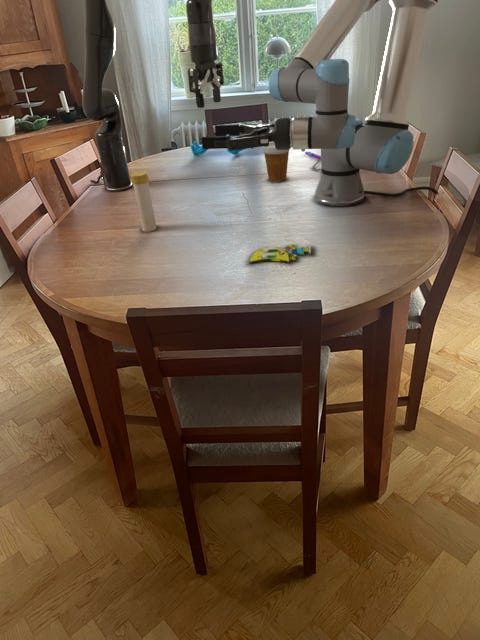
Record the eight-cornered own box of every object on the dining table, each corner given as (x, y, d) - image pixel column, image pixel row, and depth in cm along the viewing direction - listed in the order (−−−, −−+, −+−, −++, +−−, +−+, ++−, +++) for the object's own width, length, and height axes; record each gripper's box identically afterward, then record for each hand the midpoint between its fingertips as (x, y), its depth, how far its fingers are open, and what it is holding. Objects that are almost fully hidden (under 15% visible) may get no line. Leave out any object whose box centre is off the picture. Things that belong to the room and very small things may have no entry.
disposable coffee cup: (260, 182, 170) (258, 147, 164) (269, 174, 177) (267, 141, 171) (286, 183, 167) (285, 148, 160) (294, 175, 174) (293, 141, 168)
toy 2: (311, 260, 114) (248, 260, 116) (311, 263, 115) (248, 263, 117) (311, 242, 123) (252, 243, 125) (311, 245, 123) (253, 246, 125)
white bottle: (151, 232, 139) (140, 177, 131) (139, 231, 141) (128, 176, 132) (159, 227, 143) (149, 173, 134) (147, 225, 144) (137, 172, 136)
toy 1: (196, 135, 216) (258, 115, 205) (204, 158, 221) (266, 140, 210) (185, 145, 202) (251, 124, 192) (194, 169, 207) (259, 150, 197)
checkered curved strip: (342, 175, 173) (362, 153, 185) (341, 169, 172) (361, 148, 184) (283, 174, 186) (305, 153, 198) (282, 169, 184) (305, 148, 196)
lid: (142, 184, 131) (140, 176, 130) (127, 183, 133) (126, 175, 132) (152, 178, 135) (151, 171, 134) (138, 177, 137) (136, 170, 136)
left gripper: (206, 40, 140) (212, 100, 149) (176, 45, 130) (184, 109, 139) (227, 39, 137) (232, 100, 146) (198, 44, 127) (205, 109, 136)
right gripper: (285, 163, 111) (197, 164, 115) (296, 137, 131) (221, 140, 136) (285, 128, 107) (194, 132, 111) (296, 108, 127) (219, 111, 132)
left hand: (209, 104), depth 142 cm, fingers open, 8 cm apart
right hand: (209, 136), depth 124 cm, fingers open, 13 cm apart
